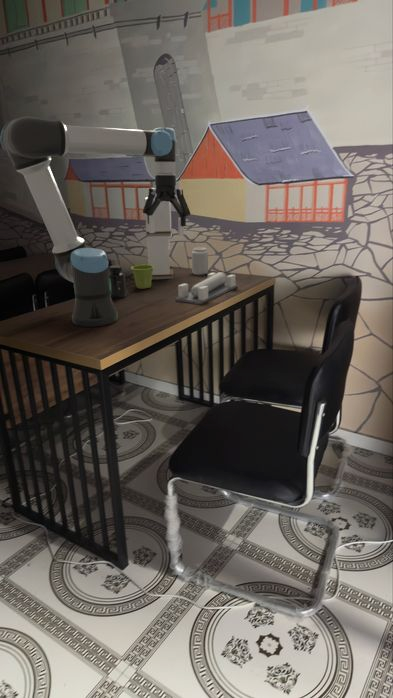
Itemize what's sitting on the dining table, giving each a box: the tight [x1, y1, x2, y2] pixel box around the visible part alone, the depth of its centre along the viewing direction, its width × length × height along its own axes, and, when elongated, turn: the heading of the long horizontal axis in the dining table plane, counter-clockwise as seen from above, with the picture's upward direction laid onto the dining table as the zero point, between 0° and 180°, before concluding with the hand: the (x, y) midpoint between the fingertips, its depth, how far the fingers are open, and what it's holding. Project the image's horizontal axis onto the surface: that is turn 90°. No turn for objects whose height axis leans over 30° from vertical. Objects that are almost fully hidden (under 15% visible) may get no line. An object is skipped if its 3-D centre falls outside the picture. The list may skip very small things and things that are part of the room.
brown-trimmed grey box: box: [144, 196, 174, 280], centre depth 223 cm, size 11×11×35 cm
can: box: [191, 247, 209, 276], centre depth 230 cm, size 8×8×12 cm
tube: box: [190, 271, 228, 298], centre depth 197 cm, size 5×5×25 cm
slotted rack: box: [175, 272, 239, 305], centre depth 197 cm, size 11×30×6 cm, turn 148°
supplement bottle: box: [108, 264, 127, 299], centre depth 195 cm, size 7×7×12 cm
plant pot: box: [130, 264, 154, 290], centre depth 209 cm, size 9×9×9 cm
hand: (166, 234), depth 187 cm, fingers open, 13 cm apart
